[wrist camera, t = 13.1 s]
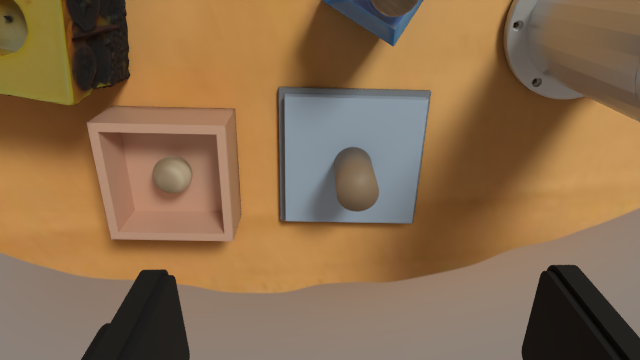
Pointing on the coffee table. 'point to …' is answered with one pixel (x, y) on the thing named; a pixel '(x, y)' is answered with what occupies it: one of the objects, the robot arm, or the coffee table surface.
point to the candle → (62, 48)
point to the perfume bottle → (379, 15)
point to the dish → (146, 150)
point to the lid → (352, 157)
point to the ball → (172, 174)
